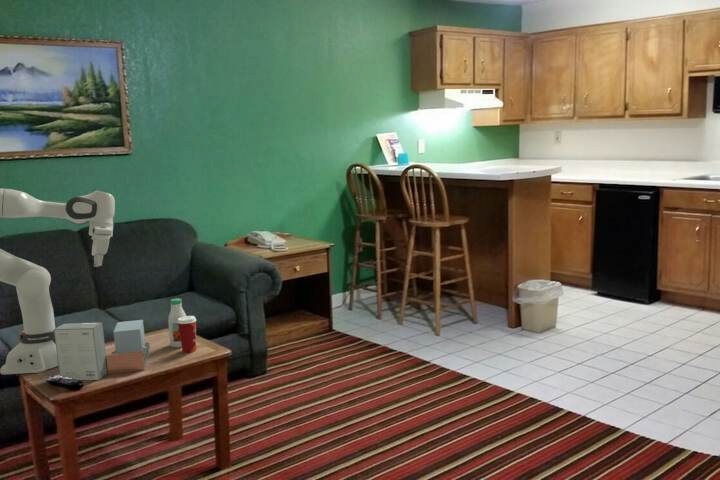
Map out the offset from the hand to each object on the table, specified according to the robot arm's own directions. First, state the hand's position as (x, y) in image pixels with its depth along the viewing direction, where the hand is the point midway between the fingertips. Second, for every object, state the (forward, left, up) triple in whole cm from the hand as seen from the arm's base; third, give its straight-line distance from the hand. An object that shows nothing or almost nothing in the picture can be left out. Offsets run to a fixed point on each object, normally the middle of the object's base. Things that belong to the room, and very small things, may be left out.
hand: (97, 266), depth 259 cm
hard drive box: (-6, -20, -38) cm, 43 cm away
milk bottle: (+28, +6, -38) cm, 48 cm away
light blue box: (+9, 0, -34) cm, 36 cm away
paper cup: (+32, -3, -38) cm, 50 cm away
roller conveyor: (+9, -5, -38) cm, 39 cm away
